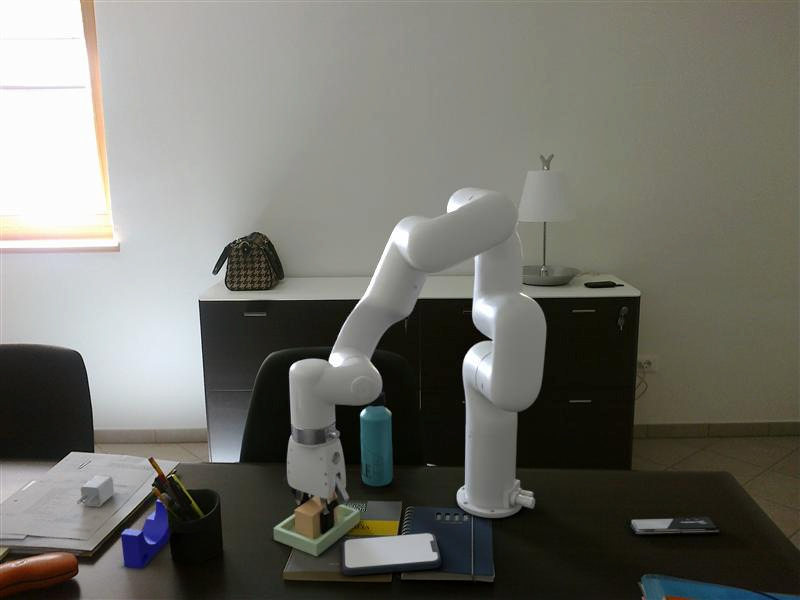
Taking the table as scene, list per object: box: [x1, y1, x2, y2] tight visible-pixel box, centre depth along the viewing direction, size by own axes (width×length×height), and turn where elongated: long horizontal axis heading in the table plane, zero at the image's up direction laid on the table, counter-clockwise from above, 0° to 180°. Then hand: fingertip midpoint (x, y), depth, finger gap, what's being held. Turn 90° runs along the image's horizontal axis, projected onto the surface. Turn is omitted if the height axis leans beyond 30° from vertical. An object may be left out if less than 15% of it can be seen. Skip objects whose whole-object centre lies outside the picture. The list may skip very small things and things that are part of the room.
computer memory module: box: [629, 516, 721, 536], centre depth 120 cm, size 15×1×4 cm
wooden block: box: [294, 495, 338, 539], centre depth 121 cm, size 4×7×4 cm, turn 148°
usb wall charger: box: [76, 475, 115, 507], centre depth 131 cm, size 4×7×4 cm, turn 170°
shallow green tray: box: [273, 504, 361, 557], centre depth 121 cm, size 10×13×2 cm
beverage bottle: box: [359, 390, 394, 487], centre depth 135 cm, size 6×7×20 cm
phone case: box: [341, 532, 442, 577], centre depth 113 cm, size 9×2×16 cm
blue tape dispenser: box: [120, 498, 171, 570], centre depth 116 cm, size 12×4×6 cm, turn 169°
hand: (316, 525), depth 121 cm, fingers closed on wooden block, 4 cm apart
